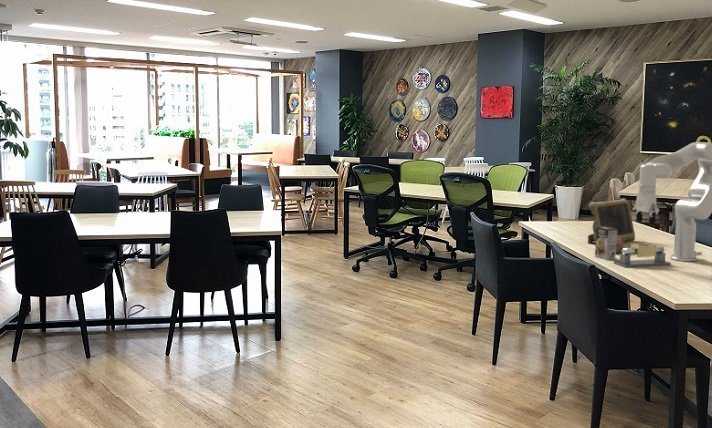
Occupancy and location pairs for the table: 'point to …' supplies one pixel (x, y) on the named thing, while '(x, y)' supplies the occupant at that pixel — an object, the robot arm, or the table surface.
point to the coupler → (644, 249)
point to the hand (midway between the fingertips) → (645, 223)
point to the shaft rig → (627, 262)
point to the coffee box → (606, 243)
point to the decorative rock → (619, 244)
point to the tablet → (612, 218)
